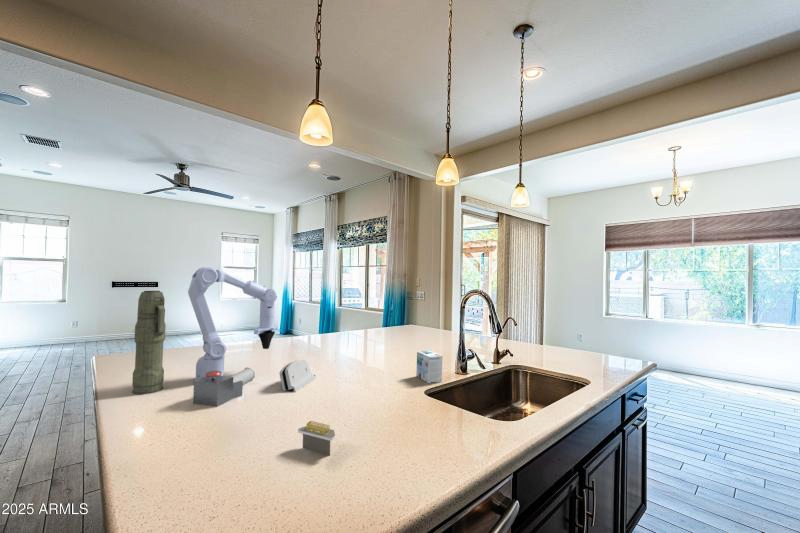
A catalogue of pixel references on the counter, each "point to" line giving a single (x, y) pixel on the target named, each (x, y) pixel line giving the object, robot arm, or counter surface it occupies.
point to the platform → (317, 437)
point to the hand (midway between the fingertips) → (265, 348)
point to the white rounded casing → (296, 375)
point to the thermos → (149, 343)
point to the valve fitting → (216, 389)
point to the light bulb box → (429, 366)
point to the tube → (244, 376)
